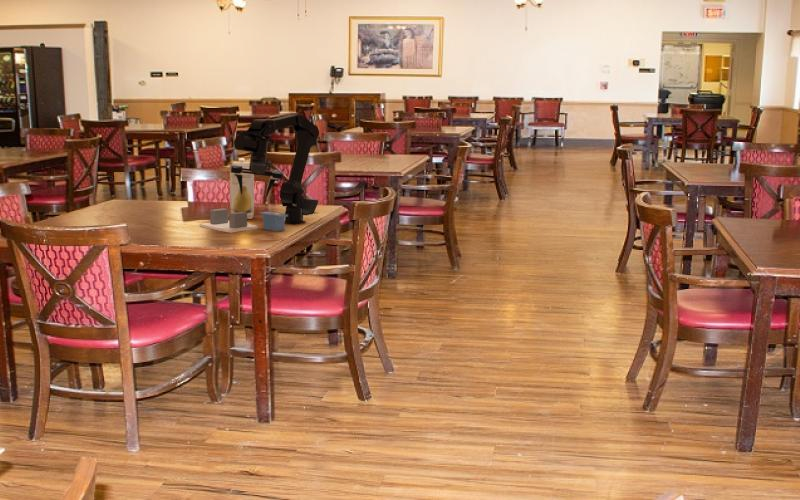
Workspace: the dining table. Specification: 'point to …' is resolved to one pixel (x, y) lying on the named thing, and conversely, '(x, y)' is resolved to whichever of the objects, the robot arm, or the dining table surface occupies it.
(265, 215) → the block
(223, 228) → the plate
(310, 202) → the black tapered bin
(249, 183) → the juice carton
